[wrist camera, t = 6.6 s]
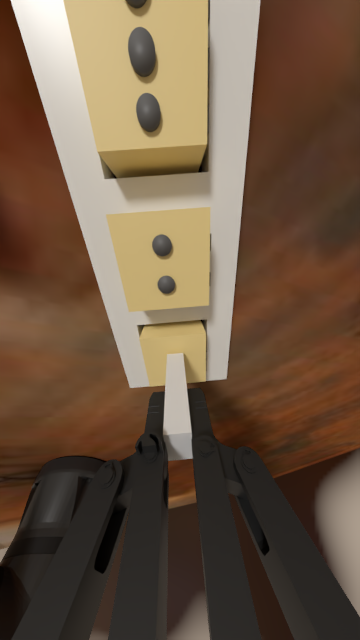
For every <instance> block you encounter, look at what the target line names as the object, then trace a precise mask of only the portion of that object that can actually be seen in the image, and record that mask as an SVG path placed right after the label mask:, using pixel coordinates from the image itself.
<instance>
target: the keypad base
mask: <svg viewBox="0 0 360 640" xmlns="http://www.w3.org/2000/svg"><path fill="white" fill-rule="evenodd" d="M11 2H12V6H13V9H14V12H15V15H16V19H17V22H18V25H19V28H20V32H21V35H22V38H23V41H24V45H25V48H26V51H27V54H28V58H29V61H30V64H31V67H32V71H33V74H34V77H35V80H36V84H37V87H38V90H39V93H40V97H41V100H42V103H43V106H44V110H45V113H46V116H47V119H48V123H49V126H50V129H51V132H52V136H53V139H54V142H55V145H56V149H57V152H58V155H59V158H60V162H61V165H62V168H63V171H64V175H65V178H66V181H67V184H68V188H69V191H70V194H71V197H72V201H73V204H74V207H75V210H76V214H77V217H78V220H79V223H80V227H81V230H82V233H83V236H84V240H85V243H86V246H87V249H88V253H89V256H90V259H91V262H92V266H93V269H94V272H95V275H96V279H97V282H98V285H99V288H100V292H101V295H102V298H103V301H104V305H105V308H106V311H107V314H108V317H109V321H110V324H111V327H112V330H113V334H114V337H115V340H116V343H117V347H118V350H119V353H120V356H121V360H122V363H123V366H124V369H125V373H126V376H127V379H128V382H129V386H130V388H135V387H146V386H150V385H149V380H148V376H147V372H146V367H145V363H144V358H143V354H142V349H141V345H140V340H139V338H140V336H141V333H142V330H143V328H144V325H146V324H157V323H169V322H180V321H192V320H203V327H204V330H205V332H206V351H207V360H206V381H211V380H222V379H227V368H228V357H229V345H230V334H231V323H232V312H233V301H234V290H235V278H236V267H237V256H238V245H239V234H240V223H241V211H242V200H243V189H244V178H245V167H246V156H247V144H248V133H249V122H250V111H251V100H252V89H253V77H254V66H255V55H256V44H257V33H258V22H259V10H260V0H210V20H209V26H208V47H210V68H209V85H208V92H207V105H209V134H208V137H207V146H206V149H205V152H204V155H203V158H202V172H201V173H187V174H173V175H159V176H145V177H130V178H116V179H114V174H113V172H112V171H111V169H110V168H109V167H108V165H107V164H106V163H105V161H104V160H103V159H102V157H101V156H100V155H99V153H98V152H97V149H96V144H95V140H94V135H93V131H92V126H91V122H90V117H89V113H88V108H87V104H86V100H85V95H84V91H83V86H82V82H81V77H80V73H79V68H78V64H77V59H76V55H75V51H74V46H73V42H72V37H71V33H70V28H69V24H68V19H67V15H66V10H65V6H64V1H63V0H11ZM201 207H210V234H211V251H210V272H211V280H210V286H209V305H207V306H195V307H183V308H172V309H160V310H148V311H136V312H129V310H128V306H127V302H126V298H125V294H124V289H123V285H122V281H121V277H120V273H119V268H118V264H117V260H116V256H115V252H114V247H113V243H112V239H111V235H110V231H109V226H108V222H107V218H106V214H120V213H133V212H147V211H160V210H174V209H187V208H201Z"/></svg>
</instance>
